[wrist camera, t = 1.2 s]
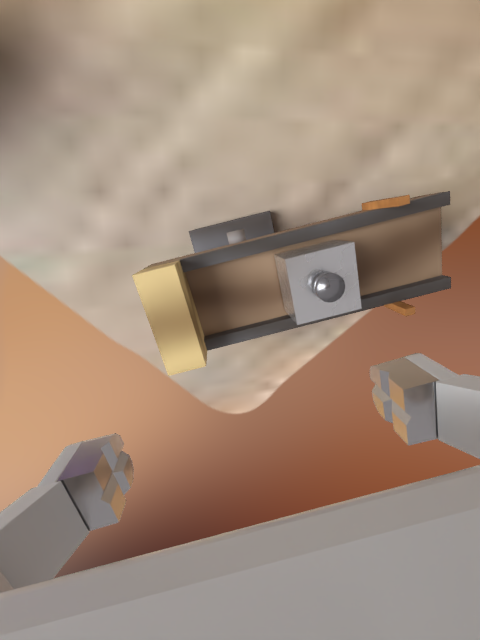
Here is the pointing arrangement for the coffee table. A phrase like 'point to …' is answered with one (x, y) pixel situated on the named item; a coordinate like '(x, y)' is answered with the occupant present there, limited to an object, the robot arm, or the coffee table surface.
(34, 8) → the coffee table surface
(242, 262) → the grey gold rectangular frame
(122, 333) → the coffee table surface
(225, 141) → the coffee table surface
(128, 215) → the coffee table surface
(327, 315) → the rider
